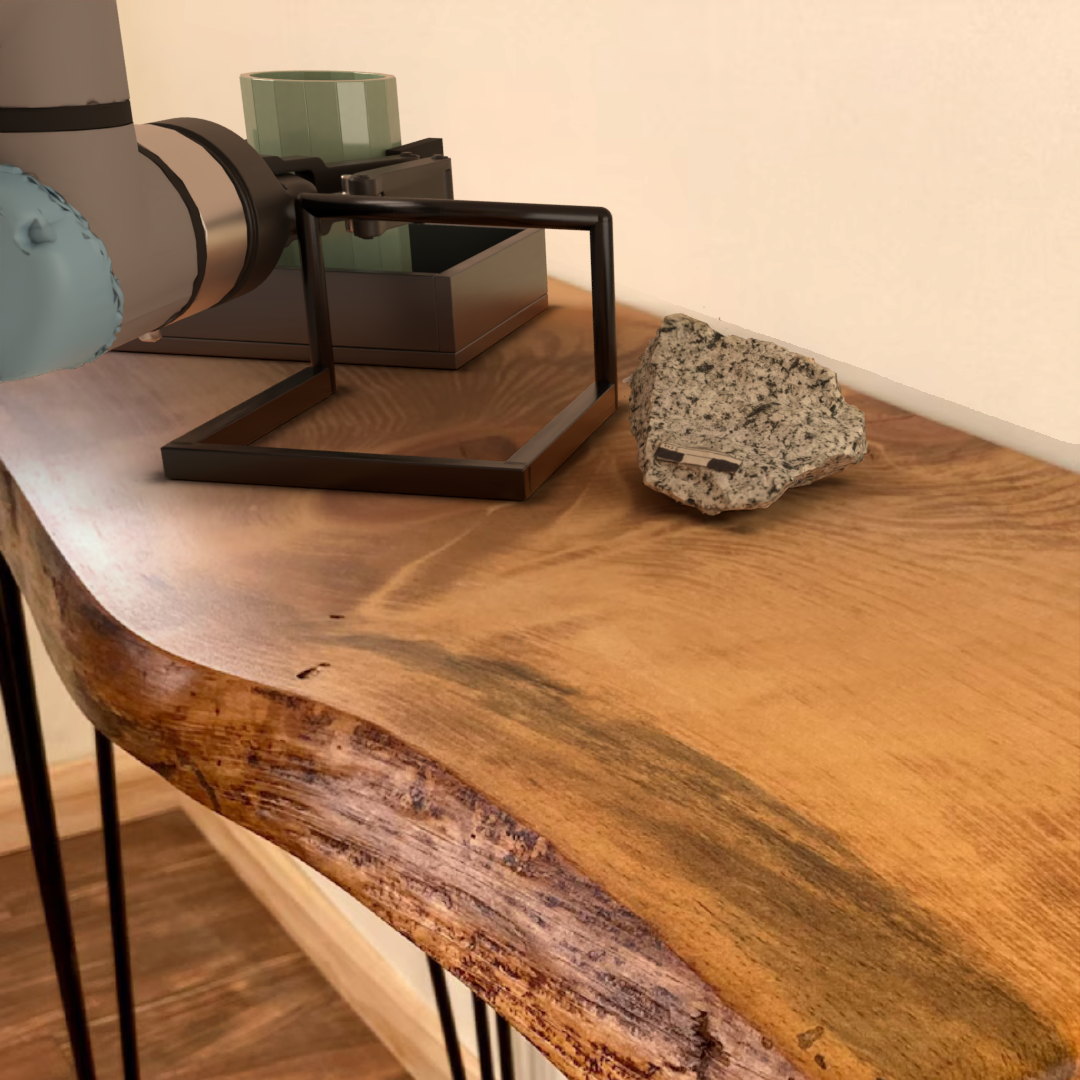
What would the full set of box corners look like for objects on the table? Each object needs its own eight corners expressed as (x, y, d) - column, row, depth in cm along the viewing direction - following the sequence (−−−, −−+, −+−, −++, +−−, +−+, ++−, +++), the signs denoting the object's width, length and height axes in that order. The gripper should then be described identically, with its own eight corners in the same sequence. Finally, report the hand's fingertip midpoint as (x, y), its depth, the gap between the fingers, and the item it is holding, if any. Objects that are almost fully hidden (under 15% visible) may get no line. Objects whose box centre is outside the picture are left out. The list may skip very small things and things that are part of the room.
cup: (244, 314, 90) (213, 77, 85) (300, 289, 96) (276, 68, 91) (386, 321, 89) (364, 83, 84) (433, 296, 96) (415, 73, 91)
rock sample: (567, 416, 61) (678, 224, 64) (552, 506, 69) (653, 330, 71) (832, 558, 63) (931, 363, 65) (790, 631, 70) (881, 454, 72)
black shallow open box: (105, 350, 87) (91, 258, 85) (246, 291, 101) (237, 212, 99) (457, 370, 85) (450, 276, 83) (548, 307, 100) (545, 227, 98)
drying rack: (163, 478, 67) (128, 243, 63) (319, 388, 81) (298, 190, 77) (525, 501, 66) (512, 263, 62) (620, 405, 80) (614, 205, 76)
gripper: (-48, 302, 76) (188, 228, 97) (411, 325, 75) (554, 244, 95) (-85, 114, 73) (168, 78, 93) (395, 133, 71) (546, 92, 91)
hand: (362, 162), depth 94 cm, fingers closed on cup, 7 cm apart
